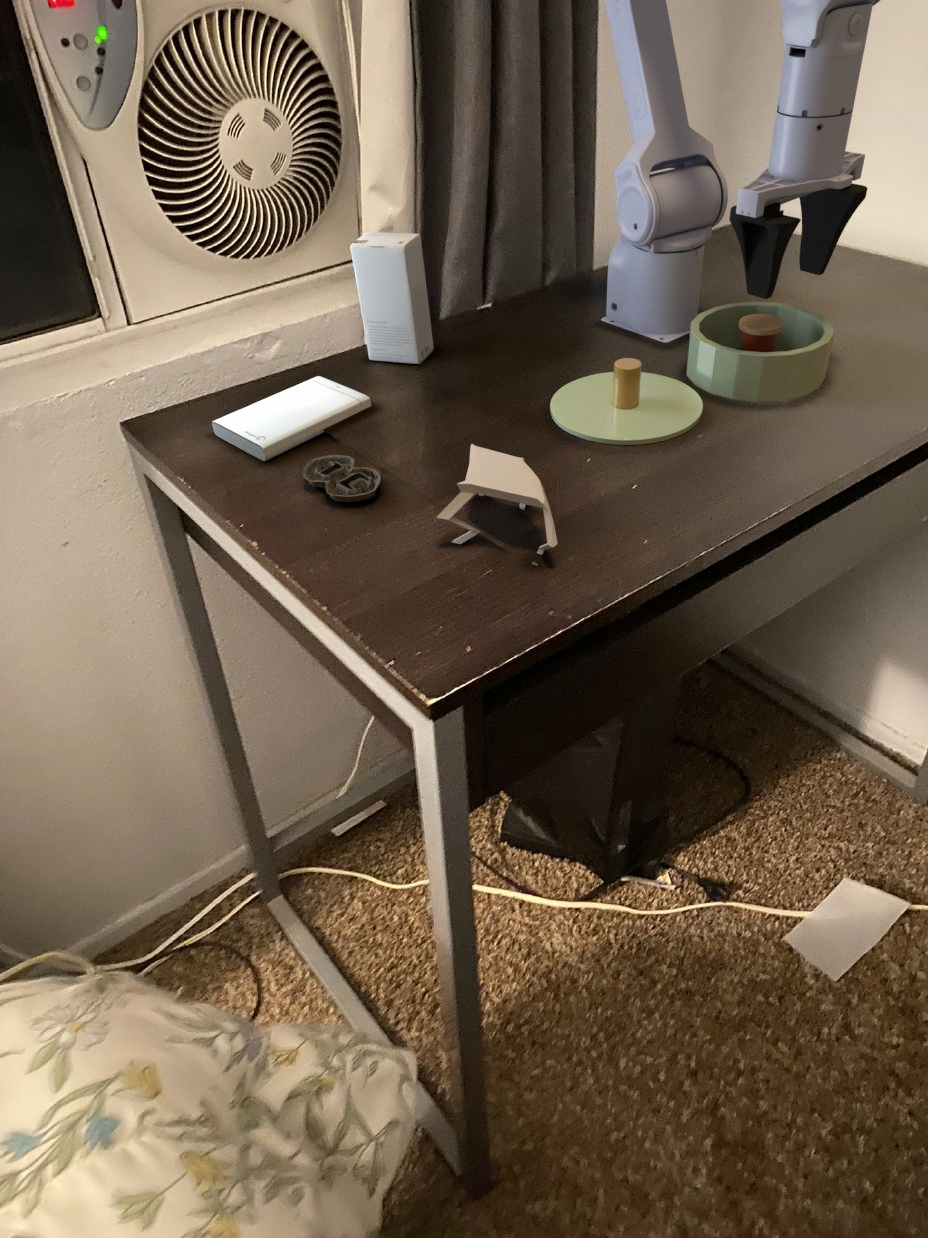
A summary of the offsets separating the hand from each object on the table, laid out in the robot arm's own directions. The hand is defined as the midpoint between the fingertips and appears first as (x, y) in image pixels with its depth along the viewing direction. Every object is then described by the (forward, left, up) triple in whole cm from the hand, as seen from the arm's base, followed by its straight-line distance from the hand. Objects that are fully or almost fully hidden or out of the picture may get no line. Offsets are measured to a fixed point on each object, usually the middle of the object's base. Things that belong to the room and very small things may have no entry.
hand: (785, 283), depth 80 cm
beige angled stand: (+2, -35, -9) cm, 36 cm away
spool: (-2, 0, -9) cm, 9 cm away
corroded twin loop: (-13, -40, -9) cm, 43 cm away
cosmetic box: (-31, -21, -9) cm, 39 cm away
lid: (-5, -14, -8) cm, 17 cm away
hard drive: (-26, -37, -9) cm, 46 cm away
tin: (-2, 0, -9) cm, 9 cm away
